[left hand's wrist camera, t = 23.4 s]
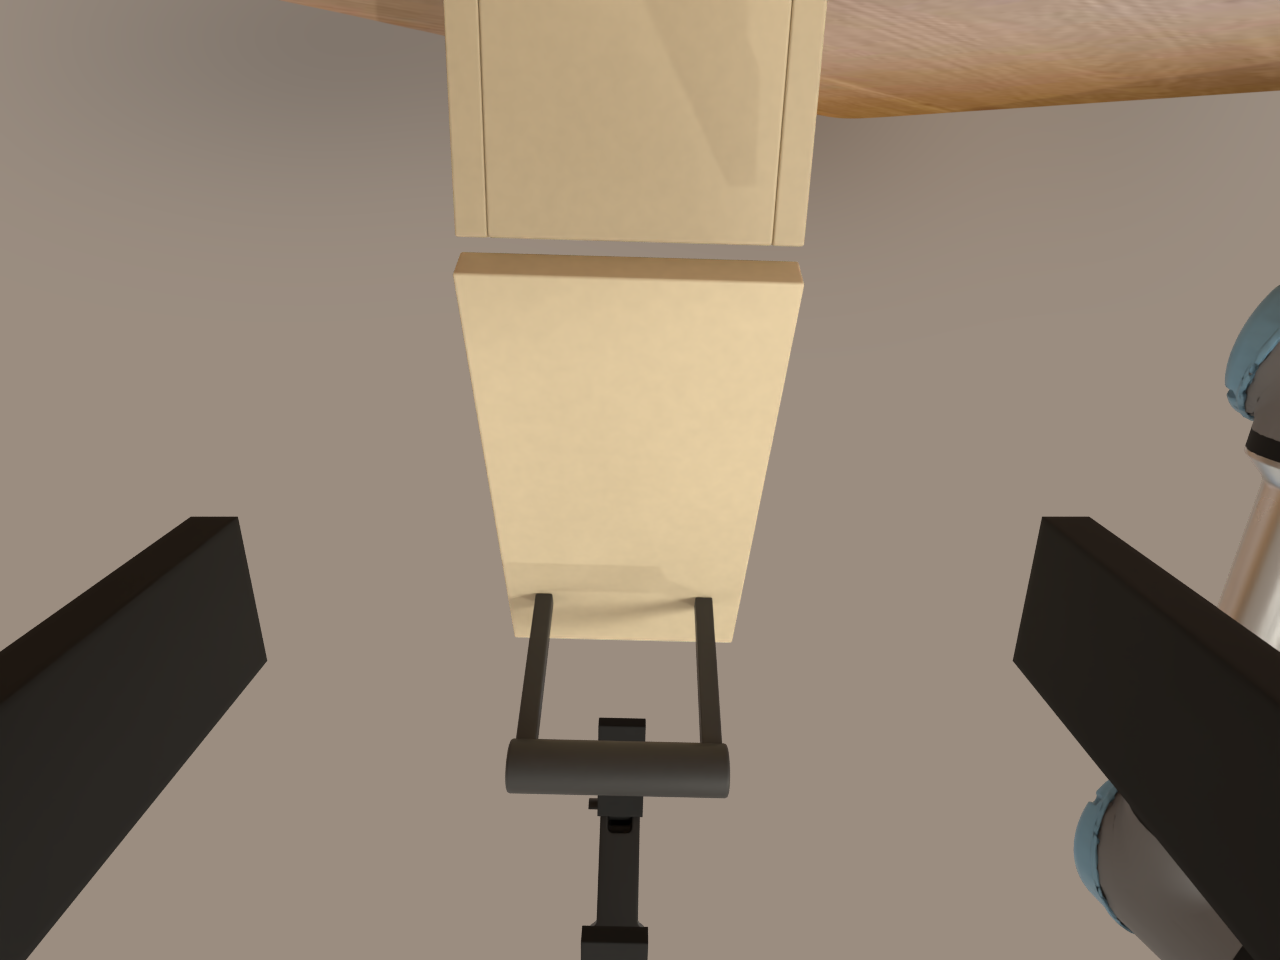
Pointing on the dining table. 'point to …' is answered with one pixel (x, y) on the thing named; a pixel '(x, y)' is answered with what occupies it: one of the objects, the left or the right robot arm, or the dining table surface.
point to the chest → (633, 118)
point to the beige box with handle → (625, 473)
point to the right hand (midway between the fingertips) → (619, 809)
